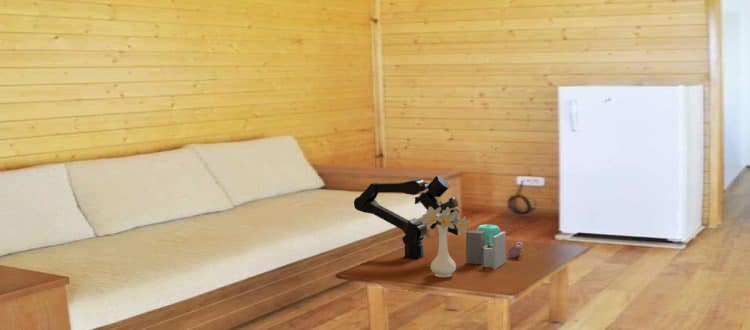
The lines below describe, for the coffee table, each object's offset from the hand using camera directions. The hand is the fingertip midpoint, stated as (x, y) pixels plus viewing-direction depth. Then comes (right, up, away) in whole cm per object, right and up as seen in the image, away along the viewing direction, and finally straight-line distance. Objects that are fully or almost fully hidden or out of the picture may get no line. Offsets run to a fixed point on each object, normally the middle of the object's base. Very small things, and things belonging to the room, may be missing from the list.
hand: (458, 234), depth 333 cm
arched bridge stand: (+13, -11, -5) cm, 18 cm away
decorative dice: (+16, -7, +31) cm, 36 cm away
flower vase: (-7, -13, -20) cm, 25 cm away
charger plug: (+6, -11, -2) cm, 13 cm away
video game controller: (+24, -10, +9) cm, 27 cm away
